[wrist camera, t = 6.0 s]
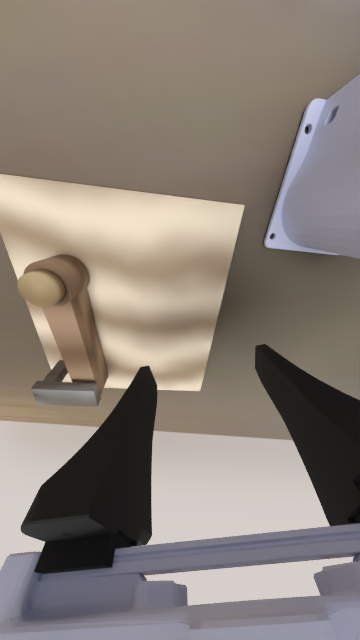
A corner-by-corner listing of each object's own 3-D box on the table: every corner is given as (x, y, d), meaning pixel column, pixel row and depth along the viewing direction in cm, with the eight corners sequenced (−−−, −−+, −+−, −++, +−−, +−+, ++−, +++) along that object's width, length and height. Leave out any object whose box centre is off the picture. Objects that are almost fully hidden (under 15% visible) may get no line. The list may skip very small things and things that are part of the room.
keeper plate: (-8, 175, 14) (-120, 146, 8) (239, 206, 15) (274, 199, 10) (62, 378, 25) (33, 420, 20) (199, 384, 27) (205, 424, 21)
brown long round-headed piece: (41, 253, 15) (14, 260, 13) (83, 254, 15) (65, 261, 13) (84, 376, 23) (73, 396, 20) (112, 376, 23) (104, 396, 20)
